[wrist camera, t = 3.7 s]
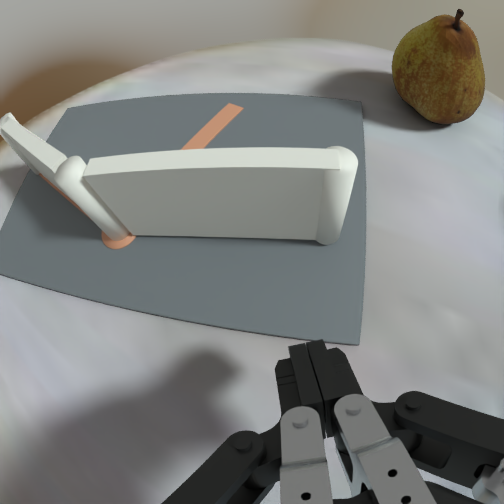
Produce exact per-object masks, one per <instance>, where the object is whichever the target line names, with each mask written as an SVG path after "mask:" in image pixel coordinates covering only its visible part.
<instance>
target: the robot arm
mask: <svg viewBox="0 0 504 504" xmlns="http://www.w3.org/2000/svg"><path fill="white" fill-rule="evenodd" d="M288 348H289V354H290V358H288V359H283V360H278V363H277V365H276V367H275V374H276V380H277V386H278V393H279V400H280V406H281V418H280V420H279V422H278V423H277V425H275V426H274V427H273V428H272V429H270V430H268V431H266V432H263V433H261V434H258V433H256V432H253V431H239V432H236V433H234V434H232V435H231V436H230V437H229V438H227V440H226V441H225V442H224V443H223V444H222V445H221V446H220V447H219V448H218V449H217V450H216V451H215V452H214V453H213V454H212V455H211V456H210V457H209V458H208V459H207V460H206V461H205V462H204V463H203V464H202V465H201V466H200V467H199V468H198V469H197V470H196V471H195V472H194V473H193V474H192V475H191V476H190V477H189V478H188V479H187V480H186V481H185V482H184V483H183V484H182V485H181V486H180V487H179V488H178V489H177V490H176V491H174V492H173V493H172V494H171V495H170V496H169V497H168V498H167V499H166V500H165V501H164V502H163V503H161V504H260V502H261V501H262V500H263V499H264V498H265V496H266V495H267V494H268V493H269V491H270V490H271V489H272V488H273V486H274V484H275V482H277V481H280V494H281V504H504V419H501V418H497V417H494V416H491V415H487V414H484V413H481V412H478V411H475V410H472V409H469V408H466V407H463V406H460V405H457V404H454V403H451V402H448V401H445V400H442V399H439V398H436V397H433V396H430V395H428V394H425V393H422V392H418V391H410V392H406V393H404V394H402V395H401V396H399V397H398V398H397V400H396V402H391V403H378V402H373V401H371V400H370V399H369V398H367V397H366V396H364V395H363V393H362V391H361V388H360V386H359V384H358V382H357V379H356V377H355V375H354V373H353V371H352V369H351V366H350V364H349V362H348V360H347V357H346V355H345V353H343V352H342V351H341V350H340V349H338V348H337V347H336V348H332V349H328V350H327V349H326V346H325V343H324V341H323V339H320V340H316V341H311V342H307V343H306V345H305V343H302V344H298V345H293V346H288ZM325 431H326V434H327V438H329V437H333V436H334V440H335V443H336V453H337V455H338V458H339V460H340V463H341V466H342V468H343V471H344V473H345V476H346V478H347V481H348V483H349V486H350V490H351V495H352V498H349V499H332V493H331V485H330V478H329V471H328V465H327V460H326V456H325V449H324V439H325V438H326V434H325ZM416 467H417V468H419V469H422V470H424V471H426V472H429V473H431V474H434V475H436V476H439V477H441V478H444V479H446V480H449V481H452V482H454V483H457V484H460V485H462V486H465V487H468V488H471V489H472V494H473V497H474V498H475V500H474V499H472V498H469V497H467V496H464V495H462V494H459V493H457V492H455V491H452V490H450V489H448V488H445V487H443V486H441V485H438V484H436V483H433V482H429V481H424V480H423V478H422V476H421V475H420V473H419V471H418V469H417V468H416Z"/></svg>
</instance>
